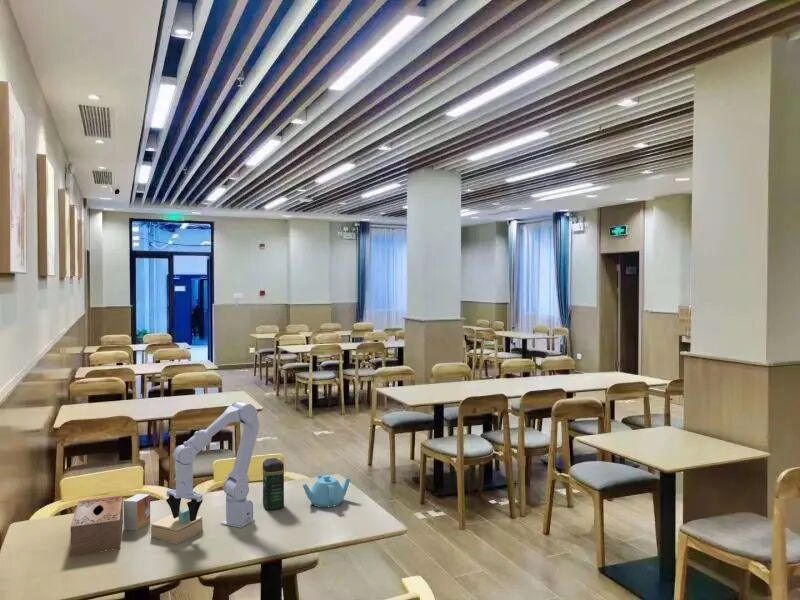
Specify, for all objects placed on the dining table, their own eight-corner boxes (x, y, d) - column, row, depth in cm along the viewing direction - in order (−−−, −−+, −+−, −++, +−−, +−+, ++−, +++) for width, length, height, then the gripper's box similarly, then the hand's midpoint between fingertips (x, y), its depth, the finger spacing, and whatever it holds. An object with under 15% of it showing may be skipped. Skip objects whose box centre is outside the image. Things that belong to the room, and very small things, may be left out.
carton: (202, 530, 213) (202, 519, 213) (177, 543, 202) (177, 532, 202) (176, 525, 218) (176, 514, 218) (151, 538, 207) (150, 526, 207)
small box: (137, 531, 213) (136, 501, 213) (123, 529, 214) (122, 500, 214) (150, 522, 221) (150, 494, 221) (137, 521, 222) (137, 493, 222)
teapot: (300, 506, 237) (299, 479, 237) (318, 494, 251) (318, 468, 251) (334, 511, 231) (334, 483, 231) (351, 498, 245) (351, 472, 245)
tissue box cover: (79, 528, 216) (78, 501, 216) (122, 522, 222) (122, 495, 222) (70, 557, 192) (70, 526, 192) (120, 549, 198) (119, 519, 198)
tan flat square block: (202, 518, 213) (202, 505, 213) (177, 531, 202) (177, 517, 202) (176, 513, 218) (176, 501, 218) (150, 525, 207) (150, 512, 207)
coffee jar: (286, 508, 234) (286, 461, 234) (266, 511, 231) (265, 464, 230) (280, 500, 243) (280, 455, 242) (261, 503, 239) (260, 457, 239)
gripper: (159, 480, 207) (160, 519, 207) (192, 486, 201) (192, 526, 202) (174, 475, 214) (175, 512, 214) (206, 480, 208) (207, 519, 208)
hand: (184, 519), depth 208 cm, fingers open, 7 cm apart
